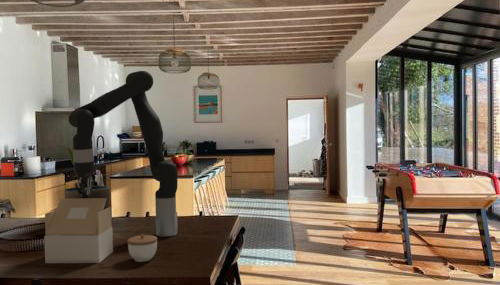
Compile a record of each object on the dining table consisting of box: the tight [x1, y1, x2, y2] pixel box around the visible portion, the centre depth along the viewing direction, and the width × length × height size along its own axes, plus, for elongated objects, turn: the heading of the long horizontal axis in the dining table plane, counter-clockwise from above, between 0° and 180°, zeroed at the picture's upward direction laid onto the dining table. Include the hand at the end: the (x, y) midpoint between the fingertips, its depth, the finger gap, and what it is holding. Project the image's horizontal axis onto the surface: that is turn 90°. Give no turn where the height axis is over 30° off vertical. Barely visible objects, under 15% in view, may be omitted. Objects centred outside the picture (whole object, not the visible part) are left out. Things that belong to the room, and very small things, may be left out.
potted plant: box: [63, 148, 111, 210], centre depth 215 cm, size 21×22×40 cm
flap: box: [45, 198, 107, 235], centre depth 159 cm, size 18×16×1 cm
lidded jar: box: [127, 233, 158, 263], centre depth 157 cm, size 11×11×9 cm
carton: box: [43, 206, 114, 264], centre depth 161 cm, size 20×15×18 cm
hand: (86, 204), depth 167 cm, fingers closed
